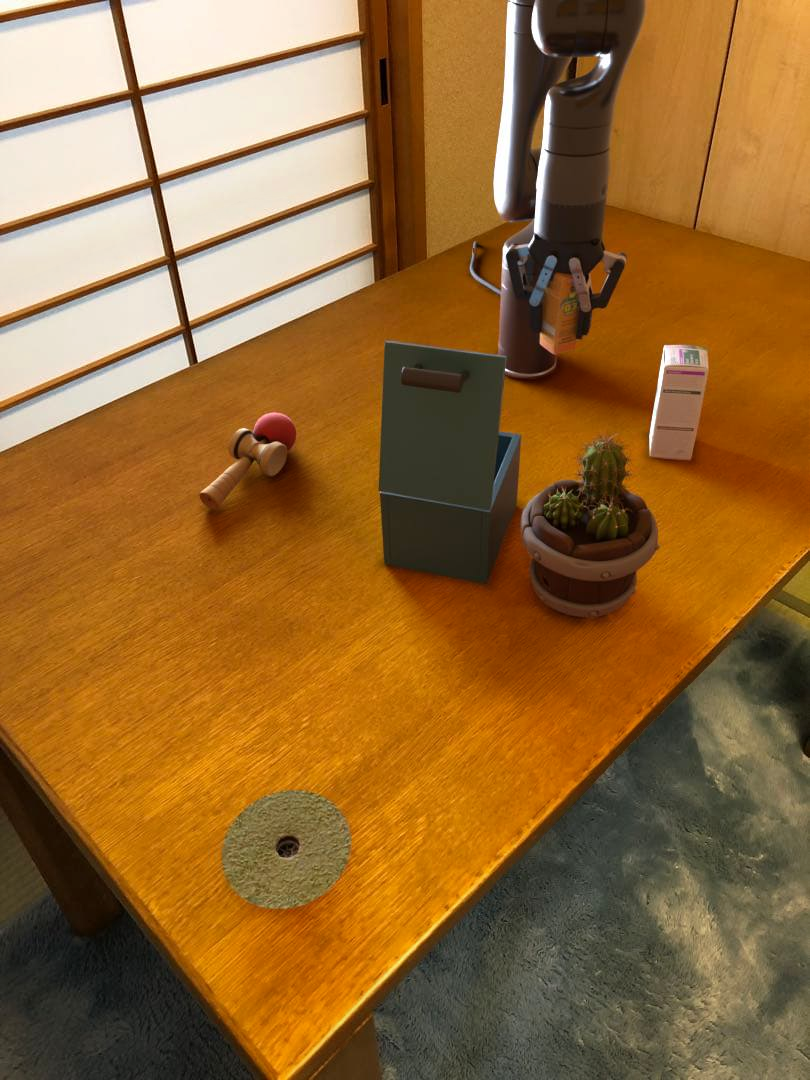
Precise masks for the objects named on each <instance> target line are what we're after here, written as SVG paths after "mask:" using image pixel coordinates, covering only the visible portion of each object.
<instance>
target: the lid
mask: <svg viewBox="0 0 810 1080" xmlns="http://www.w3.org/2000/svg"><path fill="white" fill-rule="evenodd" d="M383 347H384V348H383V371H382V372H383V373H382V398H381V419H380V421H381V423H380V424H381V425H380V443H379V444H380V446H379V468H378V471H379V472H378V473H379V474H378V492H381V491H382V492H387V493H393V494H399V495H404V496H410V497H416V498H421V499H427V500H433V501H438V502H444V503H449V504H455V505H461V506H466V507H472V508H478V509H483V510H490V509H491V503H492V493H493V484H494V474H495V465H496V455H497V446H498V436H499V431H500V426H501V425H500V424H501V414H502V406H503V398H504V387H505V377H506V375H505V369H506V359H507V356H502V355H498V354H493V353H487V352H479V351H471V350H463V349H457V348H456V349H454V348H447V347H439V346H434V345H433V346H432V345H425V344H417V343H416V344H415V343H410V342H401V341H394V340H386V341H384V346H383Z"/></svg>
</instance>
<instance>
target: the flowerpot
mask: <svg viewBox="0 0 810 1080" xmlns="http://www.w3.org/2000/svg"><path fill="white" fill-rule="evenodd" d="M596 433H597V434H598V436H599V438H598V437H596V436H594V437H593V438H592V443H591V442H587V441H586V442H585V444H586V445H585V444H584V443H580V444H581V445H583V448H581V450H580V451H579V452H577V453H578V454H580V452H581V451H582V450H583V451H584V452H585V454H584V453H582V455H576V456H577V457H574V456H573V458H574V459H576V460H578V461H577V463H576V469H579V470H576V472H577V473H575V474H573V476H576V478H575V480H574V479H561V480H558V481H554V482H553V483H552V484H550V485H547V486H546V487H545V488H544V489H542V490H541V492H539V493H537V494H535V496H533V497H532V498H531V499H530V500H529V501H528V503H527V504H526V506H525V507H524V509H522V510H521V512H520V513H521V518H520V538H521V542H522V545H523V546H524V548H525V550H526V552H527V553H528V555H529V556H530V557H531V559H530V561H529V576H530V577H529V578H530V582H531V585H532V588H533V590H534V593H535V594H536V596H537V597H538V598H539V600H540V601H542V603H543V604H544V605H545V606H546V607H548V608H549V609H550V610H551V611H553V612H555V613H556V614H558V615H560V616H563V617H565V616H568V617H569V618H571V619H574V620H584V619H587V618H600V619H601V618H604V617H607V616H608V615H609V614H611V613H614V612H616V611H617V610H619V609H621V608H622V607H623V606H624V605H625V604H626V603H627V602H628V601H629V600H630V598H631V596H632V595H634V594H636V586H637V584H638V583H637V582H638V575H637V572H638V570H640V569H641V568H643V567H644V566H645V565H646V564H648V562H650V561H651V559H652V558H653V556H654V555H655V553H656V552H657V551H658V550H659V549H660V544H658V542H659V529H658V524H657V521H656V517H655V515H654V514H653V512H652V511H651V509H650V508H649V507H648V505H647V503H646V501H645V500H644V499H643V498H642V497H641V496H639V495H638V494H636V493H632V492H631V491H630V490H629V489H630V488H631V487H630V486H629V485H627V484H628V479H629V480H631V477H635V475H634V474H631V473H630V472H631V470H632V469H631V468H632V467H631V465H633V463H632V461H635V458H633V459H632V458H630V457H631V453H630V454H629V457H627V455H628V452H629V451H630V449H629V448H626V447H625V446H628V443H626V444H623V442H622V441H620V439H621V438H620V437H618V438H617V440H616V437H615V436H618V433H616V434H614V435H612V432H611V430H609V429H607V431H606V435H605V436H603V435H602V434H601V433H600V432H598V431H596ZM611 435H612V436H611ZM595 440H596V441H595ZM619 441H620V442H619ZM618 442H619V443H618ZM622 450H623V451H622ZM625 450H628V451H627V452H626V454H625ZM630 464H631V465H630ZM579 465H580V466H581V468H579ZM626 465H627V466H629V467H630V469H629V470H627V468H626ZM577 466H578V467H577ZM627 478H628V479H627ZM578 480H580V481H578ZM624 480H625V481H626V482H625V481H624ZM623 481H624V482H625V483H623Z"/></svg>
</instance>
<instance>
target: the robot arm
mask: <svg viewBox="0 0 810 1080" xmlns="http://www.w3.org/2000/svg"><path fill="white" fill-rule="evenodd" d="M506 4H507V7H506V8H507V9H506V24H505V25H506V26H505V62H504V63H505V64H504V81H503V97H502V107H501V115H500V122H499V131H498V138H497V145H496V154H495V160H494V161H495V162H494V168H493V169H494V171H493V199H494V205H495V208H496V211H497V214H498V215H499V217H500V218H501V219H502V220H503V221H505V222H506V223H507V222H508V223H520V222H528V221H530V222H529V224H528V225H526V226H525V227H524V228H523V229H521V230H520V231H518V232H517V233H515V234H513V235H512V236H510V237H509V238H508V239H506V241H505V242H504V244H503V246H502V254H501V255H502V256H501V260H502V261H501V280H500V289H499V288H497V287H496V286H494V285H493V284H491V283H490V282H488V281H486V280H485V279H483V278H482V277H481V276H480V275H478V274H477V273H476V271H475V265H476V260H477V252H476V253H475V254H474V253H473V252H472V254H471V260H470V264H469V272H470V274H471V276H472V277H473V278H474V280H476V281H477V282H478V283H480V284H482V285H483V286H485V287H486V288H488V289H490V290H491V291H493V292H494V293H496V294H498V295H499V296H500V307H499V325H498V328H499V329H498V350H497V355H502V356H507V359H506V369H505V376H508V377H511V378H513V379H517V380H538V379H542V378H545V377H548V376H550V375H551V374H553V373H554V372H555V370H556V369H557V354H556V355H554V354H552V353H551V352H550V351H548V350H547V349H545V348H544V347H543V346H542V345H540V335H541V325H542V316H543V306H544V296H545V289H546V287H547V284H548V282H549V281H552V282H553V278H554V274H555V273H557V272H558V273H565V274H571V275H572V277H573V281H574V286H575V290H576V294H577V295H578V298H579V303H580V307H581V308H580V310H579V313H578V323H577V332H576V340H583V338H584V336H588V335H589V332H590V329H591V326H592V317H593V310H595V309H605V308H607V307H608V305H609V301H611V298H612V296H613V294H614V291H615V289H616V287H617V285H618V283H619V280H620V278H621V276H622V274H623V272H624V270H625V267H626V264H627V260H628V255H627V254H626V253H625V252H619V253H617V254H616V253H613V252H611V251H607V250H606V246H605V244H604V242H603V230H604V222H605V215H606V206H607V205H606V204H607V199H608V198H607V197H608V189H609V180H610V172H611V171H610V169H611V159H610V157H611V154H610V153H611V143H612V142H611V141H612V135H613V125H614V116H615V109H616V103H617V100H618V96H619V91H620V88H621V84H622V82H623V78H624V77H625V76H624V75H625V72H626V69H627V67H628V63H629V62H630V59H631V57H632V54H633V52H634V49H635V47H636V44H637V41H638V39H639V36H640V33H641V30H642V27H643V24H644V21H645V16H646V11H647V0H507V3H506ZM592 57H596V58H598V57H599V59H598V61H597V62H596V64H595V66H593V68H592V69H591V70H590V71H588V72H587V73H586V74H584V75H581V76H578V77H575V78H572V79H567V80H564V81H562V82H560V80H561V78H562V77H563V76H564V73H565V72H566V71H567V68H568V67H569V65H570V63H571V62H572V59H573V58H592ZM543 108H544V113H543V129H542V145H541V146H539V147H532V145H533V144H532V143H533V139H534V134H535V130H536V127H537V124H538V120H539V118H540V115H541V113H542V111H543ZM473 248H474V249H476V248H477V249H478V241H476V240H475V241H474V242H473V245H472V249H473ZM601 262H602V263H603V264H604V268H603V271H604V273H605V274H607V277H606V279H605V281H604V283H603V285H602V288H601V290H600V292H597V293H596V292H595V293H594V291H593V290H594V289H593V286H592V276H591V272H592V271H593V270H594V269H595V268H596V267H597V266H598V264H600V263H601Z"/></svg>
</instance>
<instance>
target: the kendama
mask: <svg viewBox="0 0 810 1080" xmlns="http://www.w3.org/2000/svg"><path fill="white" fill-rule="evenodd" d="M296 440H297V428H296V425H295V423H294V422H293V420H292V419H290V417H288V416H287V415H285V414H283V413H280V412H268V413H265V414H264V415H262V416H260V417H259V418H258V420H257V421H256V422H255V424H254V427H253V431H252V430H250V429H248V428H244V427H242V428H239V429H237V430H236V431H235V432H234V433H233V435H232V436H231V438H230V440H229V443H228V446H227V447H228V449H227V450H228V451H227V452H228V454H229V456H230V457H232V458H234V459H235V460H237V461H236V462H234V463H233V464H232V465H230V466H229V467H227V469H226V470H224V471H223V472H222V474H220V475H219V476H218V477H217V478H216V479H214V480H213V482H211V483H210V484H209V485H208V486H207V487H206V488H204V489H203V490H202V491H201V492H200V493H199V499H200V501H201V502H202V504H203V505H204V506H205V507H207V508H208V509H211V510H213V511H215V510H218V509H219V507H220V506H221V505H222V504H223V502H224V501H225V500H226V498H228V496H229V495H230V494H231V492H232V491H233V490H234V488H235V487H236V486H237V485H238V484H239V483H240V481H241V480H242V479H243V478H244V476H245V475H246V473H247V472H248V471H249V469H250V468H251V466H252V465H253V463H254V462H256V463H257V464H258V467H259V469H260V472H261V473H262V474H263V475H266V476H268V477H274V476H276V475H278V473H279V472H281V470H282V469H283V467H284V465H285V463H286V460H287V457H288V452H289V451H290V450H291V449H292V448H293V447H294V446H295V444H296Z"/></svg>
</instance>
